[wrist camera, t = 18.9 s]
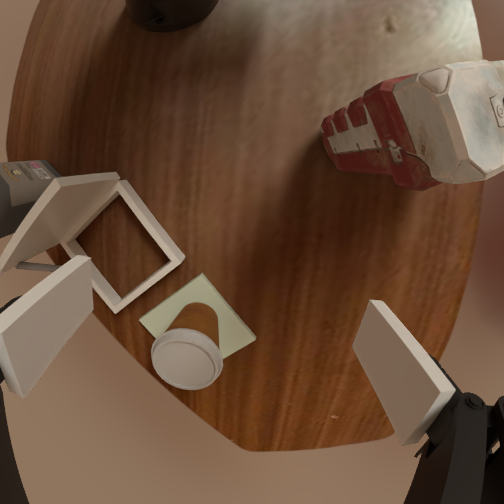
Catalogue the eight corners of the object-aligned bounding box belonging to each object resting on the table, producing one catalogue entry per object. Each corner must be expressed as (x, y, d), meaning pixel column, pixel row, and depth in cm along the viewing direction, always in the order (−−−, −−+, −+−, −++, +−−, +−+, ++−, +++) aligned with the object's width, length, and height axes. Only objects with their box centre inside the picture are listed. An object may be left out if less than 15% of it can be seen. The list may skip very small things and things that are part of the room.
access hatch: (62, 235, 43) (-8, 269, 26) (124, 171, 40) (55, 177, 23) (118, 308, 47) (69, 370, 29) (187, 254, 44) (152, 309, 27)
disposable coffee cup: (198, 280, 44) (181, 321, 33) (240, 322, 46) (237, 371, 35) (158, 315, 46) (134, 359, 34) (199, 352, 48) (187, 401, 37)
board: (140, 317, 47) (138, 320, 46) (202, 272, 45) (201, 275, 44) (193, 372, 50) (192, 375, 49) (255, 336, 48) (256, 339, 47)
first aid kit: (331, 178, 41) (473, 207, 12) (309, 125, 39) (422, 56, 10) (445, 135, 39) (591, 134, 10) (427, 89, 37) (567, 52, 8)
